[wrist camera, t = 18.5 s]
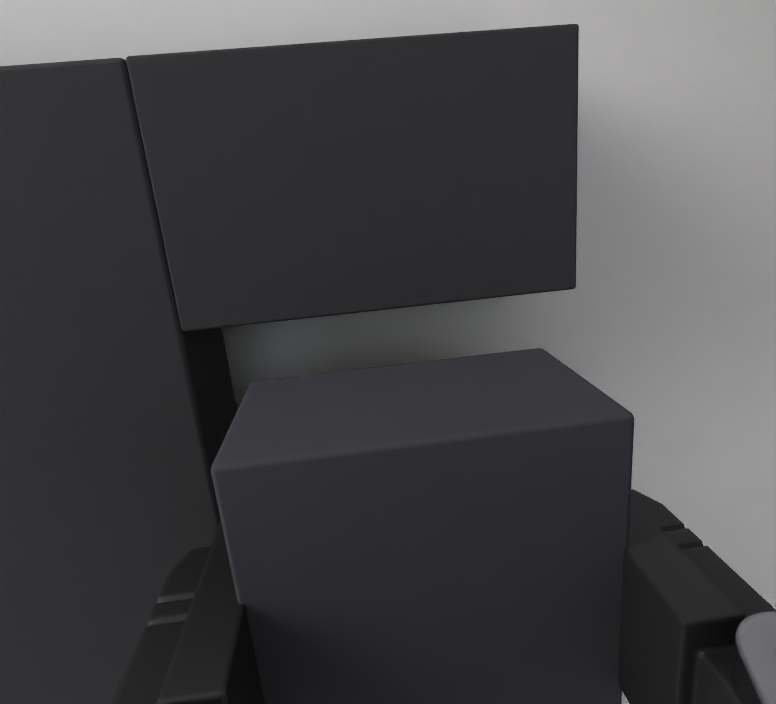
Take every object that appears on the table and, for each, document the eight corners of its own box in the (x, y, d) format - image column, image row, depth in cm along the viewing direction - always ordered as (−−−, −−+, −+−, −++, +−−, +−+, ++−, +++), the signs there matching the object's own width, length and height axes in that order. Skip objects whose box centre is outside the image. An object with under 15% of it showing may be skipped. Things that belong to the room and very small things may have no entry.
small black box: (542, 346, 9) (637, 413, 6) (544, 628, 11) (619, 782, 8) (249, 379, 9) (207, 468, 6) (298, 665, 11) (285, 839, 8)
